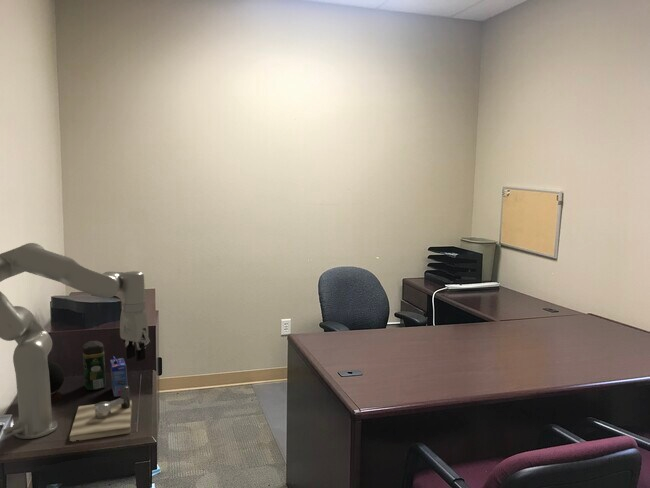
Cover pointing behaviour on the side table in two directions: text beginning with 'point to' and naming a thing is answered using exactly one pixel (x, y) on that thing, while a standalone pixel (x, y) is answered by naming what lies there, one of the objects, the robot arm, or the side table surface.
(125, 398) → the crank dial
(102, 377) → the coffee jar
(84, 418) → the birch stand
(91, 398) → the side table surface
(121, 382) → the ink cartridge box
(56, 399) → the black half-round shape
